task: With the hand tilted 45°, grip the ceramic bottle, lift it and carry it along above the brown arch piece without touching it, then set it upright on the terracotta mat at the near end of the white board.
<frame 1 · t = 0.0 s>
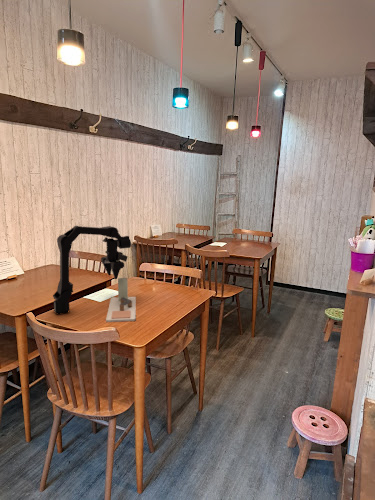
hand: (112, 277, 189), 14 cm above the table, tool pointing down, fingers open, 9 cm apart
base board: (122, 309, 181), on the table
bottle: (123, 300, 192), point 1 cm above the table, touching base board
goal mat: (121, 316, 171), resting on base board
brown arch piece: (123, 303, 182), on the base board, point 3 cm above the table
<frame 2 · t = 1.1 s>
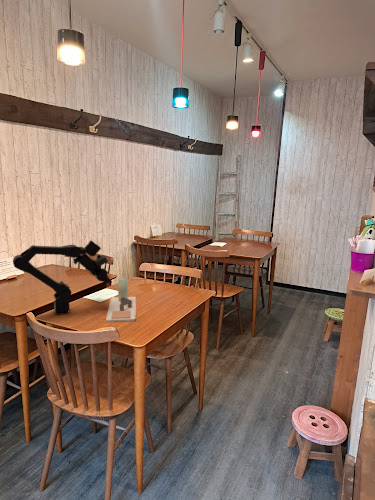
hand: (108, 280, 186), 13 cm above the table, tool tilted 45°, fingers open, 9 cm apart
nothing on the table moved.
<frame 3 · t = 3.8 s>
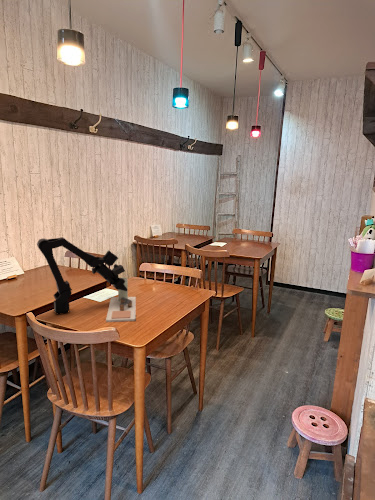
hand: (125, 289, 192), 7 cm above the table, tool tilted 45°, fingers closed on bottle, 5 cm apart
bottle: (123, 300, 192), point 1 cm above the table, touching base board, gripper
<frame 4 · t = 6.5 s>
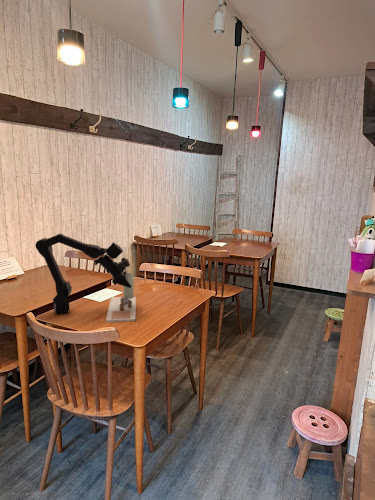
hand: (131, 285, 178), 13 cm above the table, tool tilted 45°, fingers closed on bottle, 5 cm apart
bottle: (128, 297, 179), point 7 cm above the table, touching gripper
when the fingers open (9 cm above the table, at t = 9.2 s): bottle drops 1 cm, resting on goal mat.
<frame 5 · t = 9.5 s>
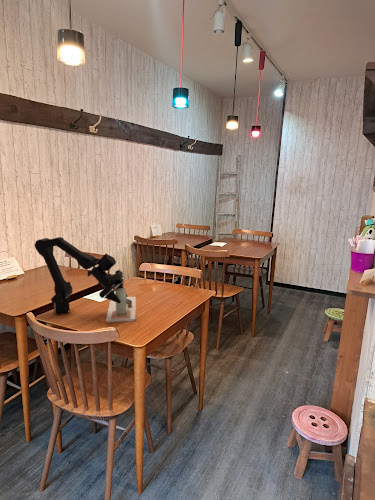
hand: (123, 299, 169), 9 cm above the table, tool tilted 45°, fingers open, 9 cm apart
bottle: (121, 313, 170), point 2 cm above the table, touching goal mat
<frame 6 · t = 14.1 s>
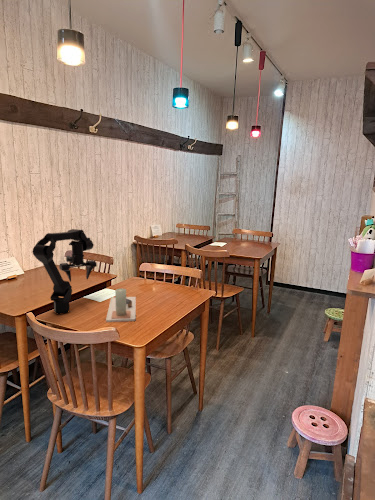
hand: (78, 280, 187), 13 cm above the table, tool pointing down, fingers open, 9 cm apart
nothing on the table moved.
at the end: bottle 0.1 cm off-centre on the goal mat, point 1.5 cm above the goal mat's base; bottle tilted 0°; bottle touching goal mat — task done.
